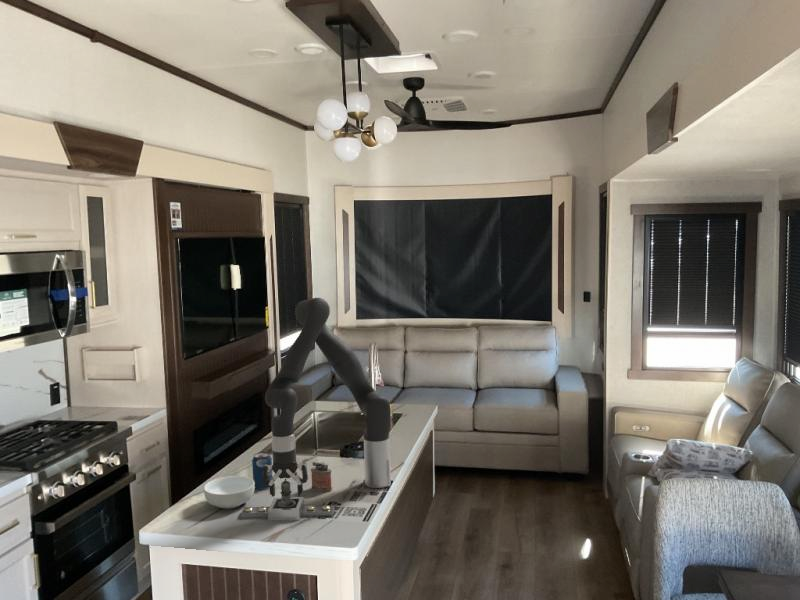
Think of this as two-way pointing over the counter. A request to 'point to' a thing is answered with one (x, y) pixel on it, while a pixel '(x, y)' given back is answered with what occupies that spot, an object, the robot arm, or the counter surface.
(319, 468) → the lighter
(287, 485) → the grey tall turned piece
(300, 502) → the studded gray strap
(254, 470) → the soda can
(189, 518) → the counter surface
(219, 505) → the cereal bowl
